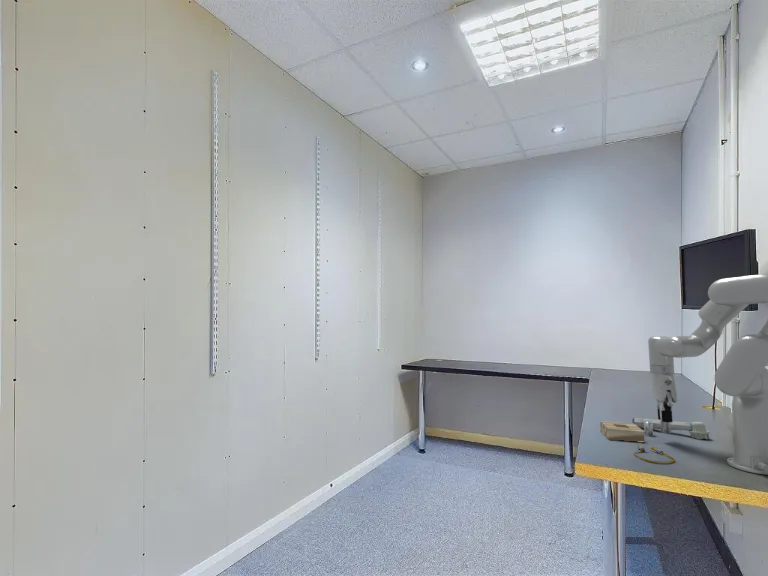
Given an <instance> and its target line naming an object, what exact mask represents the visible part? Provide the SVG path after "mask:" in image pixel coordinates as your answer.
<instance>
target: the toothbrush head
mask: <svg viewBox="0 0 768 576" xmlns="http://www.w3.org/2000/svg"><path fill="white" fill-rule="evenodd" d="M644 421H651V422H653V430H661V423H660V420H659V419H651V418H645V417H641V418H635V417H633V418H632V422H631V423H634V424H635V425H637V426H638V427H639V428H640V429H643V428H644ZM672 421H673V422H670V426H671V431H686V432H687V431H688V433H689V434H690V437H691V438H692V437H693V438H692V439H696V440H702V439H705V440H709V439H710V435H709V434H710V430H707V427H706V425H705V422H702V421H692V422H686V421H674V420H672Z"/></svg>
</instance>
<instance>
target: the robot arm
mask: <svg viewBox="0 0 768 576" xmlns="http://www.w3.org/2000/svg"><path fill="white" fill-rule="evenodd" d="M707 296H708V298H709V300H708V301H707V302H706V303H705V304H704V305H703V306H702V307H701V308H700V309H699V310H698V317H699V318H700V319H701V322H700V325H699V326H698V327H697V328H696V329H695V330H694V331H693V332H691V334H689V335H681V336H679V335H677V336H675V335H674V336H658V335H657V336H650V337H648V340H647V342H648V343H647V344H648V359H649V374H651V375H652V395H653V398H654V399H655V400H656V408H657V420H660V408H659V401H661V402H662V410H663V411H662V410H661V414H662V422H673V421H674V420H673V406H674V403H678V395H677V387H676V380H675V377H674V375H675V362H674V358H679V359H680V358H683V359H684V358H696V357H699V356H702V355H703V354H704V353H706V352H707V351H708V350H709V349H710V348H712V347H713V346H714V345H715V344H716V343H717V342H718V340H719V339H720V337H721V335H722V334H723V331H724V328H725V327H726V326H727V325H728V324H729V323H730V322H731V321H732V320H733V319H735V318H736V317H737V316H738V315H739V314H740V313H741V312H742V311H744V310H745V309H746V308H747V307H748V306H749V305H753V304H754V305H757V304H768V273H762V274H760V273H759V274H753V275H743V276H737V277H736V276H735V277H726V278H724V277H723V278H720V279H718V280H715V281H714V282H712V283H711V285H710V286H709V287H708V290H707ZM767 367H768V319H767V320H766V321H765V324H764V325H763V327H762V328H761V329H760V330H759V332H758V333H751V334H745V335H743V336H740V337H739V338H738V339H736V340H735V341H734V342H733V343H732V344H731V346H730V347H729V350H728V351H727V352H726V354H725V356H724V357H723V359H722V360H721V362H720V364H719V366H718V367H717V369H716V371H715V373H714V384H715V386H716V388H717V390H719V391H720V392H721V393H723V394H725V395H726V396H731V397H732V402H731V425H732V429H731V430H732V453H733V456H732V457H728V458H727V459H726V463H727V464H728V465H729V466H730V467H733V468H736V469H738V470H740V471H744V472H749V473H751V474H759V475H767V476H768V368H767ZM664 401H667V402H664Z"/></svg>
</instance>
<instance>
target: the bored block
mask: <svg viewBox="0 0 768 576" xmlns="http://www.w3.org/2000/svg"><path fill="white" fill-rule="evenodd" d="M599 429H600V432H601V434H603V436H605V438H606V439H607V440H609V441H617V440H624V441H623V442H629V441H645V435H644V429H643V428H639V427H638V426H637V425H635V424H634V423H632V422H618V421H606V420H604V421H603V420H600V426H599Z"/></svg>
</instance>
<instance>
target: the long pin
mask: <svg viewBox="0 0 768 576" xmlns="http://www.w3.org/2000/svg"><path fill="white" fill-rule="evenodd" d="M664 402H667V401H664ZM659 408H660V423H661V429H660V433H662V434H671V433H672V430H671V426H670V422H662V414H661V410H662V402H661V401H659ZM659 408H658V409H659ZM662 411H663V410H662Z"/></svg>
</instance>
